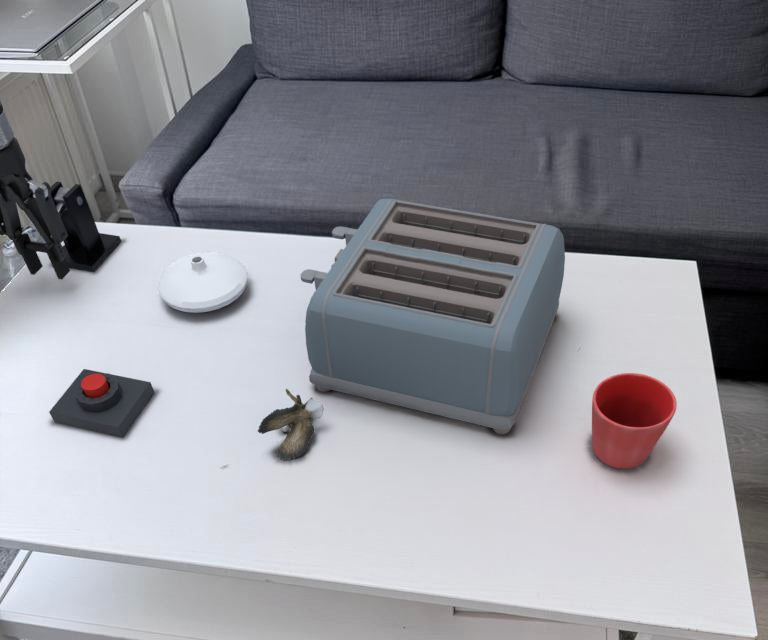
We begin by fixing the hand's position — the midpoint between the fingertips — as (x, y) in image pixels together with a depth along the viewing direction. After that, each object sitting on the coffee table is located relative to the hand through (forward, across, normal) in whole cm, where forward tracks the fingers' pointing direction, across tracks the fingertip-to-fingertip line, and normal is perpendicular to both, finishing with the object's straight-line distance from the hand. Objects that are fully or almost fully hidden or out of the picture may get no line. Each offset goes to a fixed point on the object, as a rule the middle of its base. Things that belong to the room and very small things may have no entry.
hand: (50, 272), depth 133 cm
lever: (-5, 0, -6) cm, 8 cm away
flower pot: (+3, -102, +13) cm, 103 cm away
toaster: (+3, -70, -1) cm, 70 cm away
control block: (+3, -25, +25) cm, 36 cm away
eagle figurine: (+3, -56, +23) cm, 61 cm away
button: (-1, -25, +25) cm, 36 cm away
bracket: (+3, 0, -11) cm, 11 cm away
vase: (+3, -28, -5) cm, 29 cm away
